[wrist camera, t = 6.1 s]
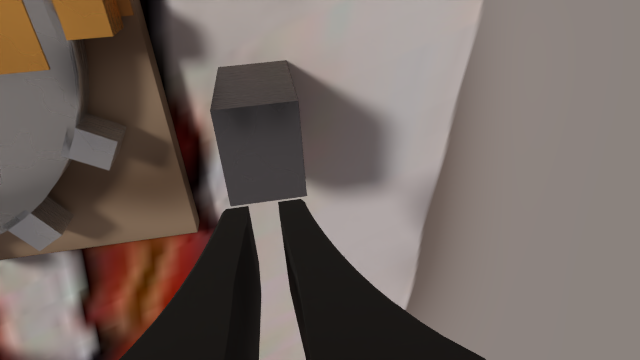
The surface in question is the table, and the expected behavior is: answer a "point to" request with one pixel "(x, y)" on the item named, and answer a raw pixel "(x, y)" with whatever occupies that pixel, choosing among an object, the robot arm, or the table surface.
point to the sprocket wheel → (48, 109)
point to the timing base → (123, 153)
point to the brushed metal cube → (258, 132)
